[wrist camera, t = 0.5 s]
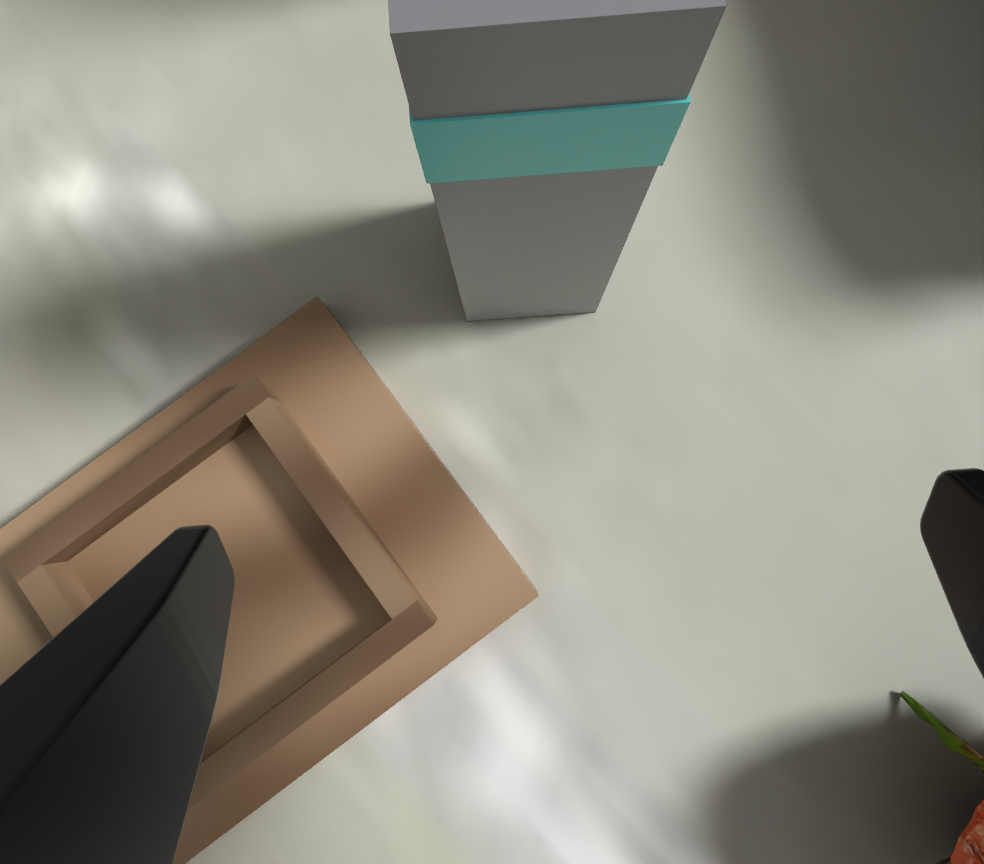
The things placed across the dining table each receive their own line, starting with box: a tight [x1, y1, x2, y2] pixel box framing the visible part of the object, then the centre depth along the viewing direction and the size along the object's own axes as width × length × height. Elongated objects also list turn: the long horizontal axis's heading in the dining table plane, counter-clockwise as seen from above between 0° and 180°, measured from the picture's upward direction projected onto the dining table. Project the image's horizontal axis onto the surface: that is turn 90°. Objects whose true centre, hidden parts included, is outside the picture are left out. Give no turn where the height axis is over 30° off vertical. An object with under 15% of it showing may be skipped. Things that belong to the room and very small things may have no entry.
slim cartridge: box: [388, 0, 726, 321], centre depth 16 cm, size 4×4×14 cm
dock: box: [0, 297, 538, 864], centre depth 18 cm, size 11×18×7 cm, turn 127°
